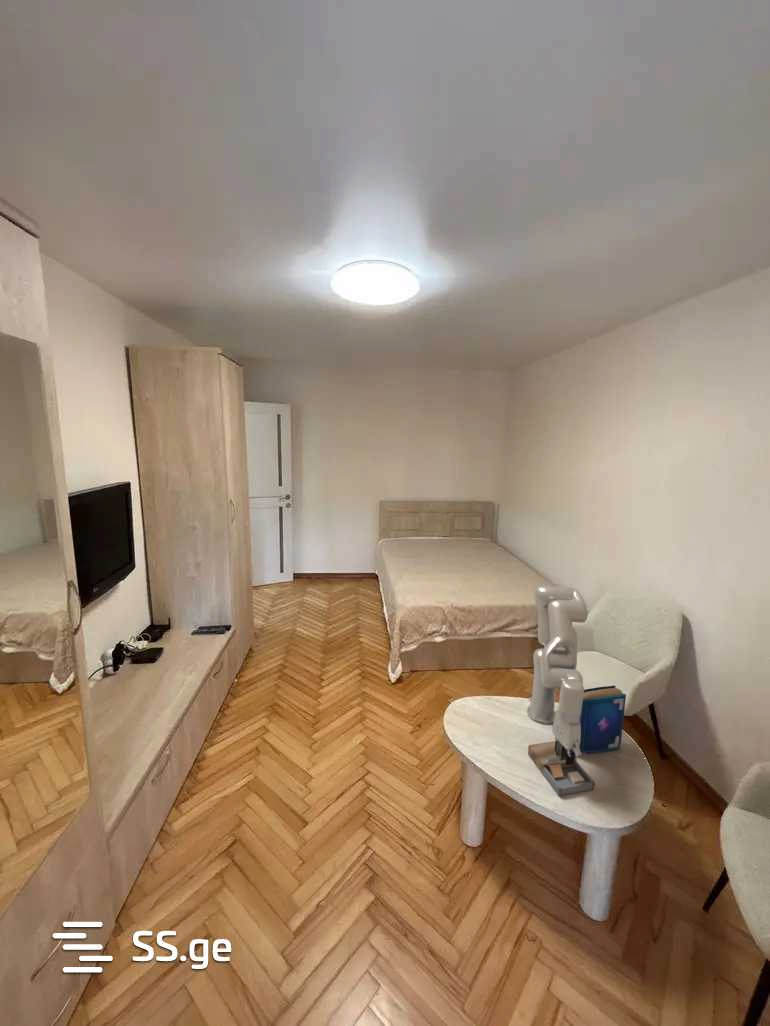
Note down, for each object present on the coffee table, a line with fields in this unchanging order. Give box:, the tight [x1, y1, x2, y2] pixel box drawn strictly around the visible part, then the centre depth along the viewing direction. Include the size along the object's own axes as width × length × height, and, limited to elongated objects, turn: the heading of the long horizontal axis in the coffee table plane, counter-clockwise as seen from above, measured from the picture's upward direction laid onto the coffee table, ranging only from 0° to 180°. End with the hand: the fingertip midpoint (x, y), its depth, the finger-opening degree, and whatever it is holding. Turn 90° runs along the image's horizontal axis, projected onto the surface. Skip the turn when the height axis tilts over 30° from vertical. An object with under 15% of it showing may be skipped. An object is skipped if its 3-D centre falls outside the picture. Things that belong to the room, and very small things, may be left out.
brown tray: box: [527, 740, 577, 775], centre depth 161 cm, size 10×14×4 cm
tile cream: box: [567, 771, 585, 784], centre depth 152 cm, size 4×4×2 cm
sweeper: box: [546, 739, 578, 766], centre depth 155 cm, size 3×12×10 cm, turn 103°
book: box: [571, 685, 627, 755], centre depth 167 cm, size 22×7×25 cm, turn 101°
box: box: [542, 761, 596, 797], centre depth 152 cm, size 10×14×3 cm
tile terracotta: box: [549, 764, 563, 778], centre depth 154 cm, size 4×4×2 cm
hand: (564, 756), depth 154 cm, fingers open, 5 cm apart
